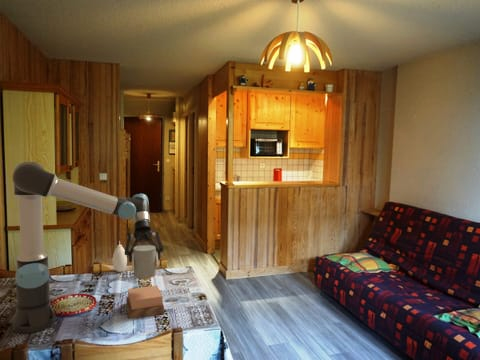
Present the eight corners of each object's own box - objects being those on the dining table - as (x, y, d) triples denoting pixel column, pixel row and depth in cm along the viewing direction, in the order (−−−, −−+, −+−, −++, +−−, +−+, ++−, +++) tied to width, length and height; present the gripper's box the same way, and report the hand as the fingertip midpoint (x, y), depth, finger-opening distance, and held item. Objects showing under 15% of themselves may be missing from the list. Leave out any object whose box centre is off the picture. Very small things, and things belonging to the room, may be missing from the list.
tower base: (128, 320, 156) (127, 311, 155) (126, 304, 170) (126, 296, 169) (163, 315, 161) (163, 306, 160) (159, 300, 175) (159, 292, 174)
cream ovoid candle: (129, 269, 213) (129, 239, 211) (123, 274, 205) (123, 242, 203) (116, 268, 214) (115, 238, 212) (110, 273, 206) (109, 242, 204)
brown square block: (131, 309, 156) (131, 300, 156) (128, 297, 168) (128, 289, 168) (162, 305, 161) (162, 296, 161) (156, 293, 173) (156, 285, 173)
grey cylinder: (145, 269, 170) (144, 243, 168) (160, 273, 165) (160, 246, 164) (129, 275, 162) (128, 248, 160) (144, 280, 157) (144, 252, 155)
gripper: (165, 226, 179) (170, 268, 166) (117, 229, 172) (118, 273, 159) (166, 218, 174) (172, 261, 161) (117, 220, 166) (118, 265, 153)
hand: (145, 267), depth 160 cm, fingers closed on grey cylinder, 9 cm apart
